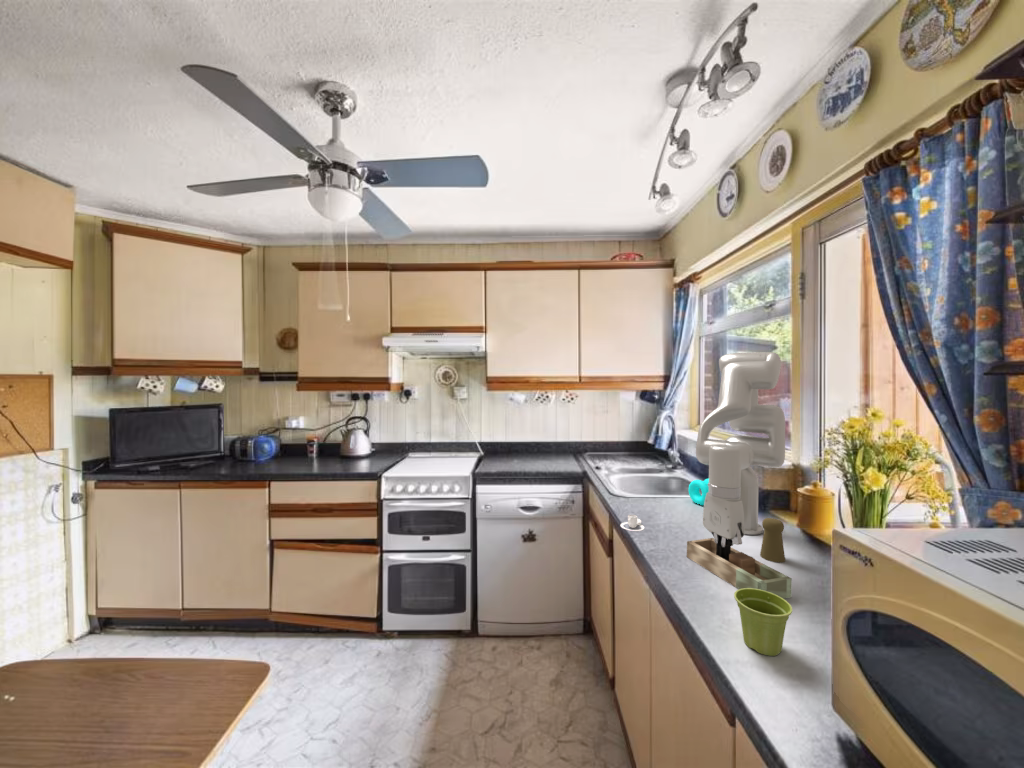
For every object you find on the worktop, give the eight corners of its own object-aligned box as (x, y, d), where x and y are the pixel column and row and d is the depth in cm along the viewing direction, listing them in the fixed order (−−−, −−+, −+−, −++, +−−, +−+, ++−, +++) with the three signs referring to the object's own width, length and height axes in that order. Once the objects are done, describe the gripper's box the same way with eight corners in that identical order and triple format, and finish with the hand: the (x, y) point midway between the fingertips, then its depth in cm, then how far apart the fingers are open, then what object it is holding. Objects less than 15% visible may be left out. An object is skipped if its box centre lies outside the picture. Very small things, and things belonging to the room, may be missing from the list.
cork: (761, 551, 117) (762, 514, 116) (786, 556, 113) (786, 518, 113) (758, 558, 112) (759, 519, 112) (784, 564, 108) (784, 525, 108)
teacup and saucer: (635, 522, 141) (635, 510, 141) (651, 530, 134) (651, 518, 133) (615, 525, 138) (615, 513, 137) (630, 533, 130) (630, 521, 130)
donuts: (725, 505, 158) (725, 481, 158) (706, 508, 154) (706, 483, 154) (704, 498, 167) (705, 475, 167) (686, 501, 164) (686, 477, 163)
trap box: (686, 556, 113) (687, 541, 112) (712, 553, 115) (712, 537, 115) (761, 603, 90) (761, 583, 89) (791, 597, 92) (791, 578, 92)
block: (729, 569, 101) (729, 553, 101) (741, 567, 102) (741, 552, 102) (742, 576, 97) (742, 560, 97) (754, 574, 99) (754, 558, 99)
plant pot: (744, 659, 72) (745, 612, 72) (726, 627, 81) (727, 585, 81) (802, 666, 70) (803, 618, 70) (776, 632, 79) (777, 590, 79)
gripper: (692, 485, 111) (691, 549, 112) (736, 501, 97) (734, 574, 97) (714, 483, 113) (713, 546, 114) (759, 498, 99) (758, 570, 99)
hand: (723, 559), depth 106 cm, fingers closed
